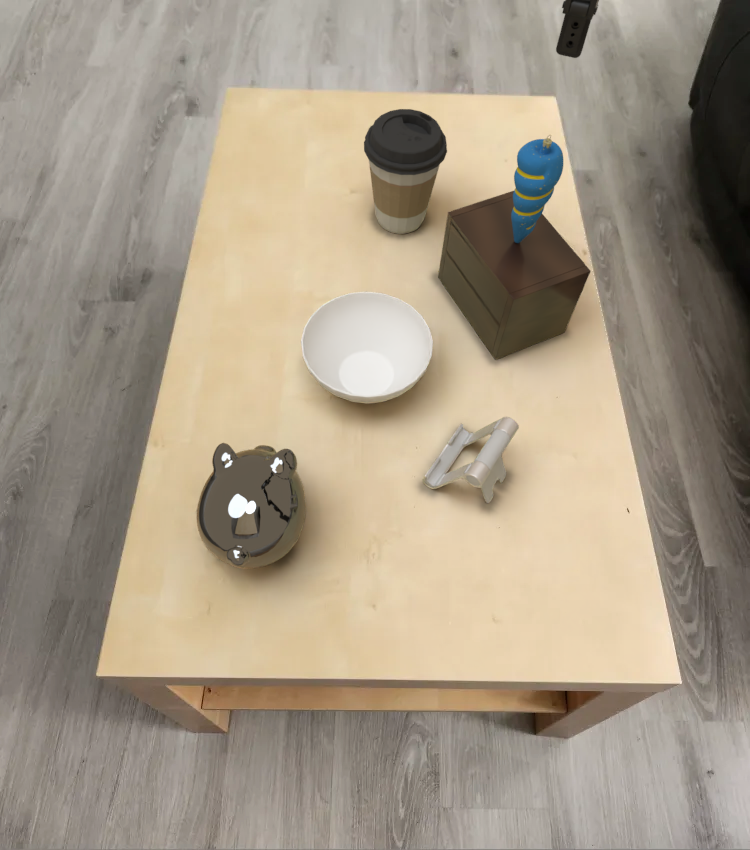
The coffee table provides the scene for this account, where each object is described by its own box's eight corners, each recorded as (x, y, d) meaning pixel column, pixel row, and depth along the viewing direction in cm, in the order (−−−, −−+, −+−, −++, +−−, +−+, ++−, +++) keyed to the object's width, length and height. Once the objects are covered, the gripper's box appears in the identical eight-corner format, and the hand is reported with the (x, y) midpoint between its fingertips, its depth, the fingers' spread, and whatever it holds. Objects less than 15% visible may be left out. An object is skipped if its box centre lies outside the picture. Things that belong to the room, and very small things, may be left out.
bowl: (367, 451, 83) (368, 421, 77) (278, 374, 88) (273, 341, 82) (453, 374, 89) (460, 341, 83) (365, 307, 94) (366, 271, 88)
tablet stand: (457, 431, 84) (467, 394, 77) (514, 462, 82) (529, 428, 75) (421, 483, 81) (428, 449, 73) (479, 518, 79) (492, 487, 71)
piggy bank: (317, 473, 81) (312, 424, 71) (298, 597, 73) (290, 562, 63) (224, 464, 81) (206, 414, 71) (196, 587, 74) (171, 550, 64)
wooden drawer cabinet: (503, 254, 100) (521, 188, 90) (564, 332, 93) (591, 270, 82) (437, 277, 97) (447, 211, 87) (495, 360, 90) (513, 299, 80)
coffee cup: (452, 217, 103) (467, 130, 91) (402, 256, 99) (409, 171, 86) (397, 181, 107) (403, 92, 94) (346, 217, 103) (345, 129, 90)
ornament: (488, 240, 85) (513, 134, 72) (515, 220, 86) (543, 113, 74) (520, 262, 83) (552, 158, 70) (547, 242, 85) (582, 136, 72)
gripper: (683, -153, 44) (604, 82, 58) (704, -229, 51) (629, -2, 65) (569, -173, 45) (518, 63, 59) (605, -244, 52) (552, -18, 66)
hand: (576, 28), depth 62 cm, fingers open, 8 cm apart
